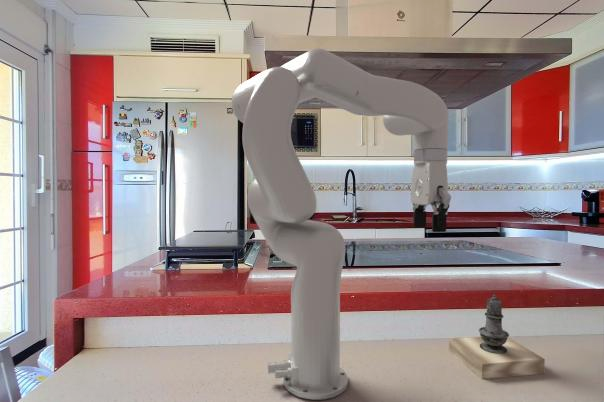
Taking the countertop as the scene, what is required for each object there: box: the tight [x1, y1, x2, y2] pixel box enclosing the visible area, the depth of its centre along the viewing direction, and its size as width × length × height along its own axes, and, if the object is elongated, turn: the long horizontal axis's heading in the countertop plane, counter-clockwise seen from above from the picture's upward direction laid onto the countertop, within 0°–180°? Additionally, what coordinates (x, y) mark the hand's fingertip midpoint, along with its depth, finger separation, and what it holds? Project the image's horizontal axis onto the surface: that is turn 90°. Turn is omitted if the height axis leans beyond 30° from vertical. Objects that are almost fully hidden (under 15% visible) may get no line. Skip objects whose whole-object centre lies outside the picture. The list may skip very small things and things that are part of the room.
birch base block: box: [448, 336, 546, 380], centre depth 80 cm, size 14×12×3 cm
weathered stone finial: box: [478, 293, 510, 354], centre depth 80 cm, size 6×6×12 cm
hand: (428, 229), depth 89 cm, fingers open, 9 cm apart
